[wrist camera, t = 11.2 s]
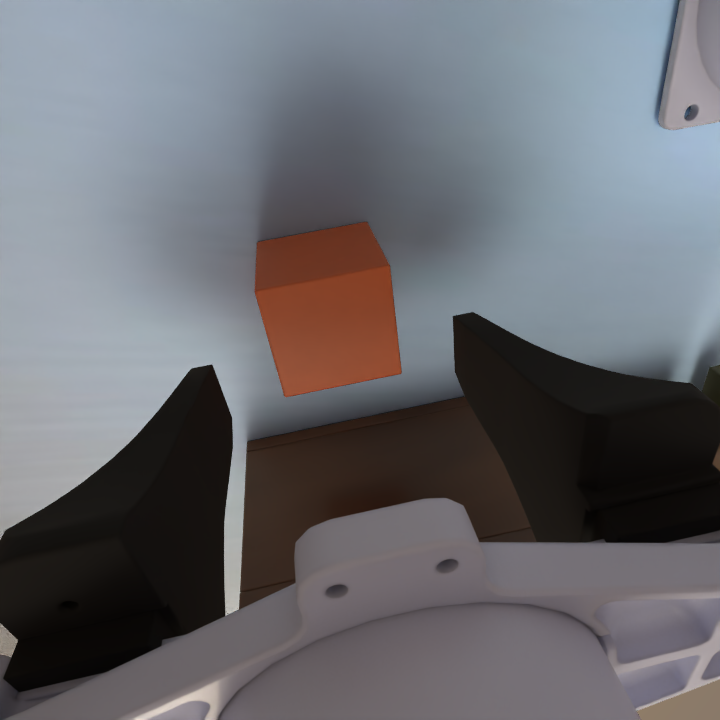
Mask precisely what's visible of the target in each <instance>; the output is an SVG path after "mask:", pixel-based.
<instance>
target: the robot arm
mask: <svg viewBox="0 0 720 720" xmlns="http://www.w3.org/2000/svg"><path fill="white" fill-rule="evenodd" d="M689 106H691V111H690V113H689V115H688V116H687V117H686V118H684V114H685V111H686V109H687V108H688V107H689ZM658 122H659V124H660V126H661V127H663V128H664V129H668V130H677V129H683V128H688V127H693V126H699V125H704V124H710V123H715V122H720V0H680V2H679V8H678V13H677V19H676V24H675V30H674V35H673V40H672V46H671V51H670V57H669V62H668V67H667V73H666V78H665V84H664V89H663V94H662V100H661V105H660V111H659V116H658ZM453 332H454V360H455V373H456V376H457V378H458V381H459V383H460V386H461V388H462V391H463V393H464V395H465V398H466V399H467V401H468V403H469V405H470V406H471V408H472V410H473V412H474V413H475V415H476V417H477V418H478V420H479V422H480V423H481V425H482V427H483V428H484V430H485V432H486V433H487V435H488V437H489V438H490V440H491V442H492V443H493V445H494V447H495V449H496V450H497V452H498V454H499V456H500V458H501V459H502V461H503V463H504V465H505V468H506V470H507V472H508V474H509V477H510V479H511V481H512V483H513V486H514V488H515V490H516V492H517V495H518V497H519V500H520V502H521V504H522V507H523V509H524V511H525V514H526V516H527V519H528V521H529V524H530V526H531V529H532V531H533V534H534V536H535V539H536V541H537V542H479V540H478V538H477V536H476V533H475V531H474V528H473V526H472V524H471V521H470V519H469V517H468V514H467V512H466V510H465V508H464V506H463V505H461V504H459V503H457V502H455V501H452V500H450V499H448V498H428V499H421V500H416V501H411V502H407V503H402V504H398V505H393V506H389V507H384V508H380V509H375V510H371V511H366V512H361V513H357V514H352V515H348V516H343V517H339V518H334V519H330V520H327V521H325V522H322V523H320V524H318V525H315V526H313V527H311V528H309V529H308V530H307V531H306V532H305V533H304V534H303V535H302V536H301V537H300V538H299V539H298V540H297V542H296V543H295V554H294V562H295V580H296V583H294V584H292V585H290V586H288V587H286V588H284V589H282V590H280V591H277V592H275V593H273V594H271V595H269V596H267V597H265V598H263V599H260V600H258V601H256V602H254V603H252V604H250V605H248V606H246V607H243V608H241V609H239V610H237V611H235V612H233V613H231V614H229V615H227V616H225V592H224V518H225V507H226V499H227V491H228V483H229V475H230V467H231V458H232V449H233V432H232V416H231V414H230V411H229V408H228V406H227V403H226V400H225V398H224V395H223V392H222V390H221V387H220V384H219V381H218V379H217V376H216V373H215V371H214V368H213V365H207V366H202V367H197V368H192V369H191V370H190V371H189V372H188V373H187V375H186V376H185V377H184V378H183V380H182V381H181V382H180V384H179V385H178V386H177V388H176V389H175V390H174V392H173V393H172V394H171V395H170V397H169V398H168V399H167V401H166V402H165V403H164V404H163V406H162V407H161V408H160V409H159V411H158V412H157V413H156V414H155V415H154V416H153V417H152V419H151V420H150V421H149V422H148V423H147V424H146V425H145V427H144V428H143V429H142V430H141V431H140V432H139V433H138V434H137V435H136V436H135V438H134V439H133V440H132V441H131V442H130V443H129V444H128V445H126V446H125V447H124V448H123V449H122V450H121V451H120V452H119V453H118V454H117V455H116V456H115V457H113V458H112V459H111V460H110V461H109V462H108V463H106V464H105V465H104V466H103V467H101V468H100V469H99V470H98V471H96V472H95V473H94V474H93V475H91V476H90V477H89V478H88V479H86V480H85V481H84V482H82V483H81V484H80V485H78V486H77V487H75V488H74V489H73V490H71V491H70V492H68V493H67V494H65V495H64V496H62V497H61V498H59V499H58V500H56V501H55V502H53V503H52V504H50V505H48V506H47V507H45V508H44V509H42V510H40V511H38V512H37V513H35V514H33V515H32V516H30V517H28V518H26V519H25V520H23V521H21V522H19V523H18V524H16V525H14V526H12V527H11V528H9V529H7V530H6V531H5V532H4V534H3V536H2V538H1V540H0V623H1V624H2V625H3V626H4V627H5V628H6V629H7V630H8V631H9V632H10V633H11V634H12V635H13V636H14V637H16V638H17V639H18V643H17V645H16V648H15V650H14V653H13V655H12V657H9V656H5V655H0V720H641V718H640V716H639V714H638V713H637V711H638V710H641V709H643V708H646V707H648V706H651V705H654V704H656V703H659V702H661V701H664V700H667V699H669V698H672V697H675V696H677V695H680V694H682V693H685V692H688V691H690V690H693V689H695V688H698V687H700V686H703V685H706V684H708V683H711V682H714V681H716V680H719V679H720V471H719V470H718V469H717V468H716V467H715V466H714V465H713V464H712V463H713V461H714V458H715V455H716V453H717V450H718V447H719V445H720V407H719V406H718V405H717V404H716V403H715V402H713V401H712V400H711V399H710V398H709V397H707V396H706V395H705V394H704V393H703V392H701V391H700V390H699V389H698V388H697V387H695V386H694V385H693V384H691V383H684V382H675V381H665V380H656V379H649V378H643V377H637V376H632V375H626V374H622V373H617V372H612V371H608V370H604V369H601V368H597V367H593V366H589V365H586V364H583V363H579V362H576V361H574V360H571V359H568V358H565V357H562V356H559V355H557V354H554V353H552V352H549V351H547V350H545V349H543V348H540V347H538V346H536V345H534V344H532V343H530V342H528V341H525V340H523V339H521V338H520V337H518V336H516V335H514V334H512V333H510V332H508V331H506V330H505V329H503V328H501V327H499V326H497V325H496V324H494V323H492V322H490V321H489V320H487V319H485V318H483V317H481V316H479V315H478V314H476V313H474V312H471V313H466V314H461V315H456V316H453Z"/></svg>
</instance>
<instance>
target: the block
mask: <svg viewBox="0 0 720 720" xmlns="http://www.w3.org/2000/svg"><path fill="white" fill-rule="evenodd" d="M255 295H256V299H257V302H258V306H259V309H260V313H261V316H262V320H263V323H264V327H265V330H266V334H267V337H268V341H269V344H270V348H271V351H272V355H273V358H274V362H275V365H276V369H277V372H278V376H279V379H280V383H281V386H282V390H283V393H284V396H285V397H290V396H295V395H300V394H305V393H310V392H314V391H319V390H324V389H329V388H334V387H339V386H344V385H349V384H354V383H359V382H363V381H368V380H373V379H378V378H383V377H388V376H393V375H398V374H401V372H402V371H401V362H400V353H399V343H398V334H397V325H396V316H395V307H394V298H393V289H392V280H391V271H390V265H389V263H388V261H387V259H386V257H385V255H384V253H383V251H382V249H381V247H380V246H379V244H378V242H377V240H376V238H375V236H374V234H373V232H372V230H371V228H370V226H369V224H368V222H362V223H356V224H351V225H346V226H340V227H335V228H330V229H324V230H319V231H314V232H308V233H303V234H298V235H292V236H287V237H282V238H276V239H271V240H266V241H261V242H257V249H256V272H255Z"/></svg>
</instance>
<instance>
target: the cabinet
mask: <svg viewBox="0 0 720 720" xmlns="http://www.w3.org/2000/svg"><path fill="white" fill-rule="evenodd" d="M428 498H448V499H450V500H452V501H455V502H457V503H459V504H461V505H463V506H464V508H465V510H466V512H467V514H468V517H469V519H470V521H471V524H472V526H473V528H474V531H475V533H476V536H477V538H478V540H479V542H537V541H536V539H535V536H534V534H533V531H532V529H531V526H530V524H529V521H528V519H527V516H526V514H525V511H524V509H523V507H522V504H521V502H520V500H519V497H518V495H517V492H516V490H515V488H514V486H513V483H512V481H511V479H510V477H509V474H508V472H507V470H506V468H505V465H504V463H503V461H502V459H501V458H500V456H499V454H498V452H497V450H496V449H495V447H494V445H493V443H492V442H491V440H490V438H489V437H488V435H487V433H486V432H485V430H484V428H483V427H482V425H481V423H480V422H479V420H478V418H477V417H476V415H475V413H474V412H473V410H472V408H471V406H470V405H469V403H468V401H467V399H466V398H465V397H460V398H455V399H450V400H446V401H441V402H436V403H431V404H426V405H422V406H417V407H412V408H407V409H402V410H398V411H393V412H388V413H383V414H378V415H374V416H369V417H364V418H359V419H354V420H349V421H345V422H340V423H335V424H330V425H325V426H321V427H316V428H311V429H306V430H301V431H297V432H292V433H287V434H282V435H277V436H273V437H268V438H263V439H258V440H253V441H249V442H247V454H246V476H245V498H244V520H243V542H242V563H241V585H240V592H241V593H240V600H239V609H241V608H243V607H246V606H248V605H250V604H252V603H254V602H256V601H258V600H260V599H263V598H265V597H267V596H269V595H271V594H273V593H275V592H277V591H280V590H282V589H284V588H286V587H288V586H290V585H292V584H294V583H296V580H295V562H294V554H295V543H296V542H297V540H298V539H299V538H300V537H301V536H302V535H303V534H304V533H305V532H306V531H307V530H308V529H309V528H311V527H313V526H315V525H318V524H320V523H322V522H325V521H327V520H330V519H334V518H339V517H343V516H348V515H352V514H357V513H361V512H366V511H371V510H375V509H380V508H384V507H389V506H393V505H398V504H402V503H407V502H411V501H416V500H421V499H428Z"/></svg>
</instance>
